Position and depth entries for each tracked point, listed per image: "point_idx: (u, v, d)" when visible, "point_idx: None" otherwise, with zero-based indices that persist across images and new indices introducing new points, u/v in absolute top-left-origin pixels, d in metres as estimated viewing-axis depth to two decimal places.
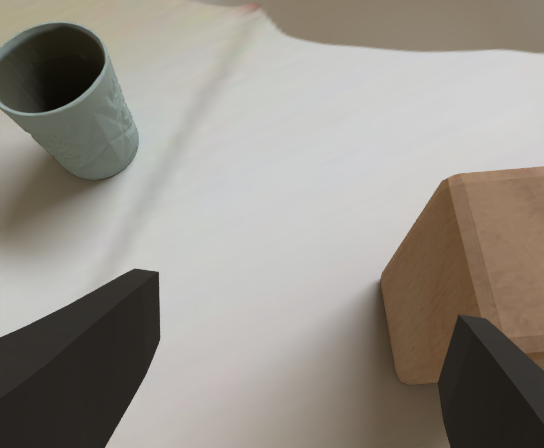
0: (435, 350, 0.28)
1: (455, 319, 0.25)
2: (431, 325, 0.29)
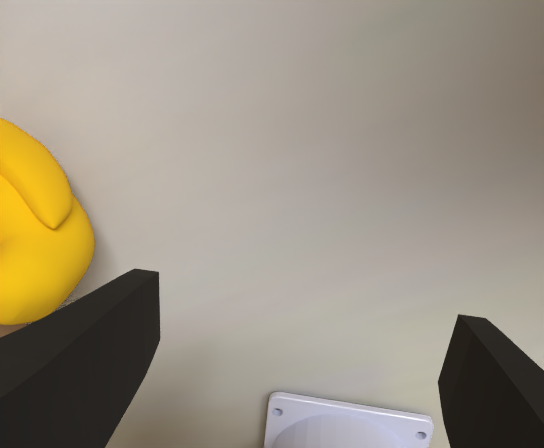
0: None
1: None
2: None
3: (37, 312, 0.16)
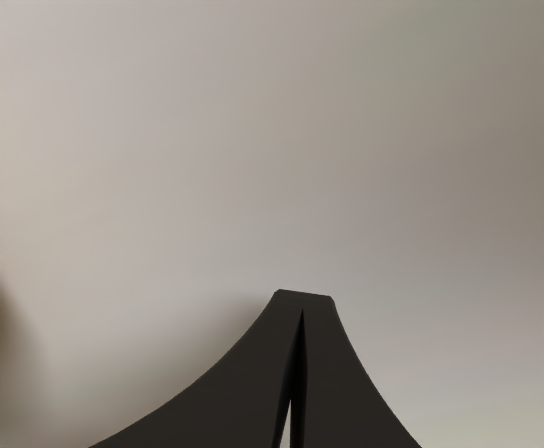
0: None
1: None
2: None
3: None
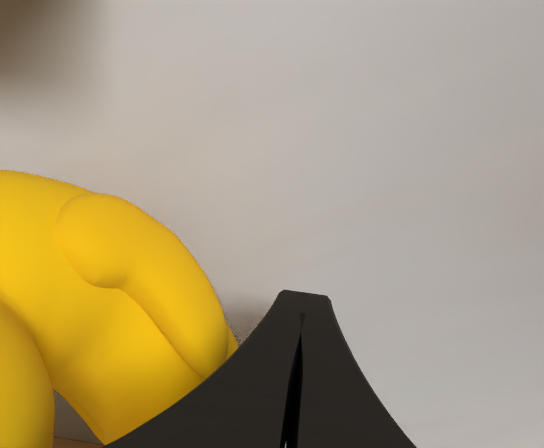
0: None
1: None
2: None
3: None
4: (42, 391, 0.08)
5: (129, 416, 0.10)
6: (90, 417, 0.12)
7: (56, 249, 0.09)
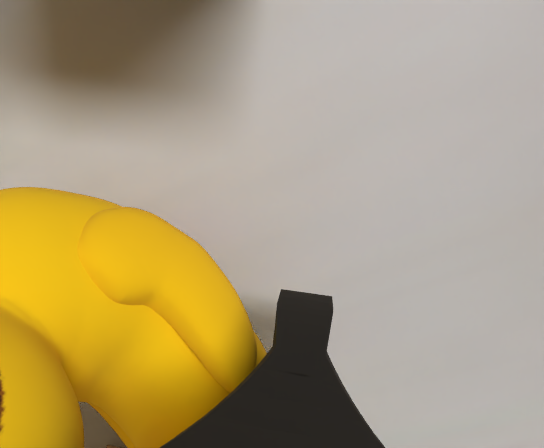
0: None
1: None
2: None
3: None
4: (69, 417, 0.08)
5: (159, 432, 0.10)
6: (122, 430, 0.12)
7: (80, 268, 0.09)
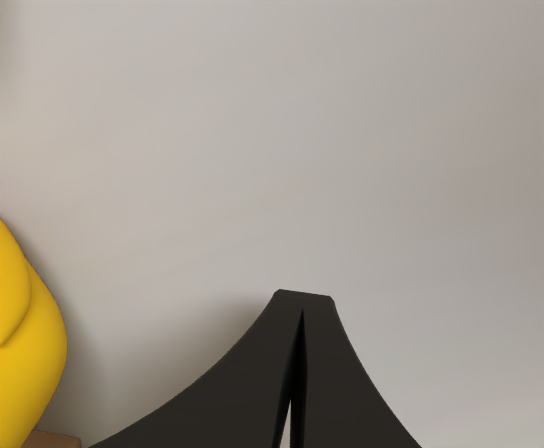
0: None
1: None
2: None
3: None
4: None
5: None
6: None
7: None
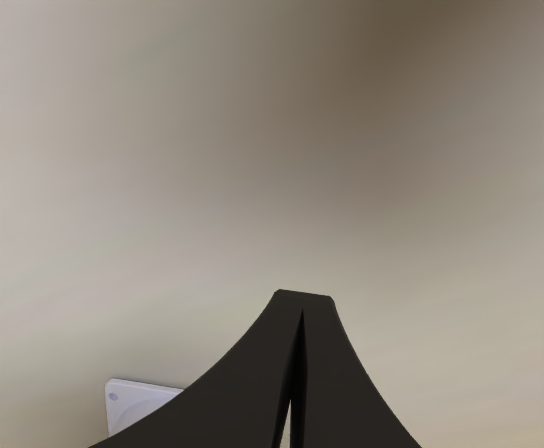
0: None
1: None
2: None
3: None
4: None
5: None
6: None
7: None
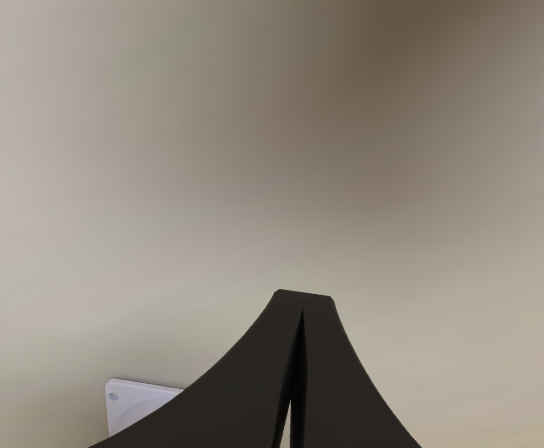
0: None
1: None
2: None
3: None
4: None
5: None
6: None
7: None
